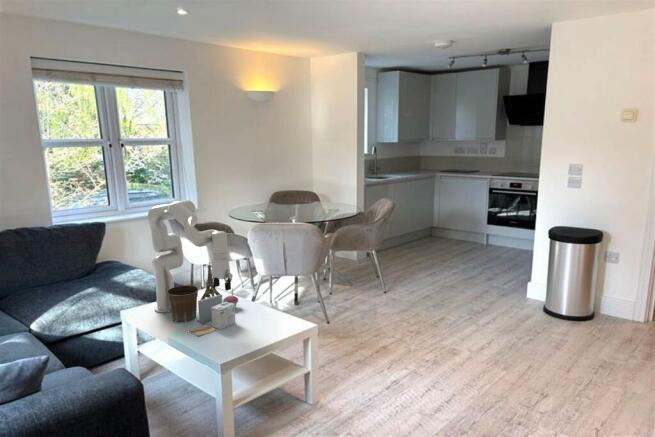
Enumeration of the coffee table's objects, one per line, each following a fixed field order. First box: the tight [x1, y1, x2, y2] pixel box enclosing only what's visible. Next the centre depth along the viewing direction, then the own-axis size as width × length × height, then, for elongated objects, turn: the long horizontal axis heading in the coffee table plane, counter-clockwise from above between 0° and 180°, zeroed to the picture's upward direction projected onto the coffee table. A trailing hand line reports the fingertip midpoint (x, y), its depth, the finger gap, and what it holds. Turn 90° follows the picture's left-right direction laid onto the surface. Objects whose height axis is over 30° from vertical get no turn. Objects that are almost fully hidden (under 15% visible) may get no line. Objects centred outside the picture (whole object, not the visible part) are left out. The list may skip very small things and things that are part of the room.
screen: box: [197, 293, 223, 325], centre depth 243 cm, size 5×14×12 cm, turn 138°
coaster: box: [187, 323, 217, 338], centre depth 229 cm, size 10×10×1 cm
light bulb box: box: [211, 302, 236, 330], centre depth 235 cm, size 11×7×11 cm, turn 145°
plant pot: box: [167, 284, 200, 324], centre depth 244 cm, size 16×16×16 cm
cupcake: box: [222, 288, 239, 308], centre depth 259 cm, size 9×8×12 cm
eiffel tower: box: [198, 262, 221, 301], centre depth 275 cm, size 11×11×25 cm
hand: (222, 288), depth 233 cm, fingers open, 9 cm apart
